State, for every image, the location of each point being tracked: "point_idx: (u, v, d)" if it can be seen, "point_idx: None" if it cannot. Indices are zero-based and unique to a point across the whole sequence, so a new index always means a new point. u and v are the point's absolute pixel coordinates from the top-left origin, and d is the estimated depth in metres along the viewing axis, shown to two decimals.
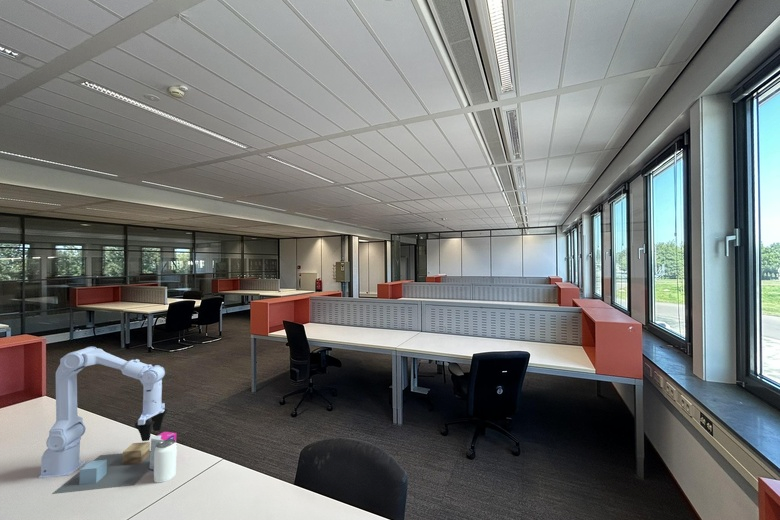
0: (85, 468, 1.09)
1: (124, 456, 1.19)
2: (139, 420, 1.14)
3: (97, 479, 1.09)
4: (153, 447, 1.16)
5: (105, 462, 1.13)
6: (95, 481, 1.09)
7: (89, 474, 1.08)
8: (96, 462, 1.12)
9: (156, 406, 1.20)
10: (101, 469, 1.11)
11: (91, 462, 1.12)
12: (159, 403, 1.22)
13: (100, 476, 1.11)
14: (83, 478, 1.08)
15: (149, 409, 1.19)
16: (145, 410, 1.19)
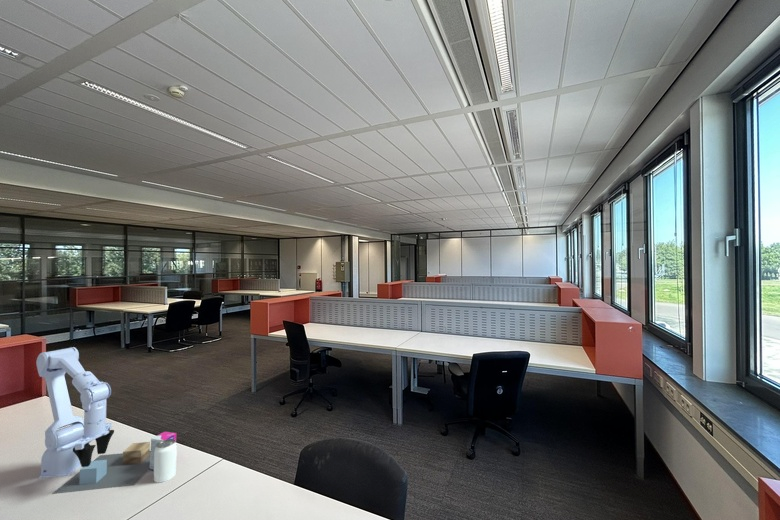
0: (85, 468, 1.09)
1: (124, 456, 1.19)
2: (76, 444, 1.04)
3: (97, 479, 1.09)
4: (153, 447, 1.16)
5: (105, 462, 1.13)
6: (95, 481, 1.09)
7: (89, 474, 1.08)
8: (96, 462, 1.12)
9: (98, 427, 1.10)
10: (101, 469, 1.11)
11: (91, 462, 1.12)
12: (102, 424, 1.11)
13: (100, 476, 1.11)
14: (83, 478, 1.08)
15: (90, 431, 1.09)
16: (86, 433, 1.08)
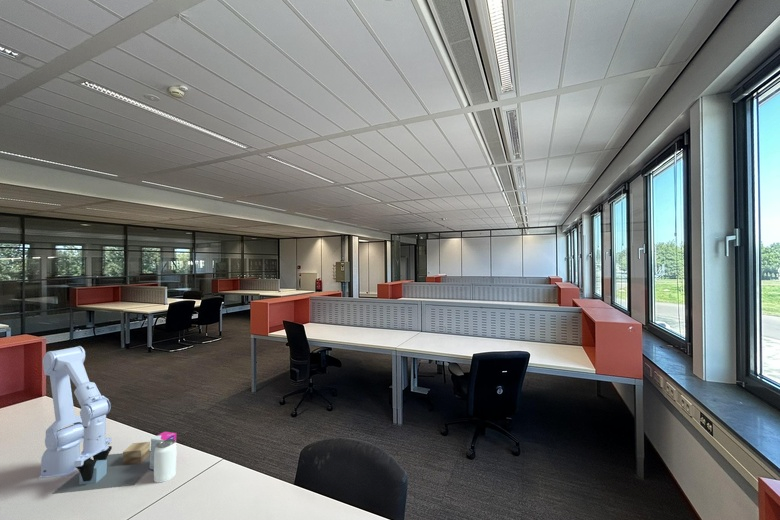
0: None
1: (124, 456, 1.19)
2: (76, 461, 1.04)
3: (97, 479, 1.09)
4: (153, 447, 1.16)
5: (105, 462, 1.13)
6: (95, 481, 1.09)
7: None
8: (96, 462, 1.12)
9: (98, 443, 1.10)
10: (101, 469, 1.11)
11: None
12: (102, 440, 1.11)
13: (100, 476, 1.11)
14: None
15: (90, 447, 1.08)
16: (85, 449, 1.08)
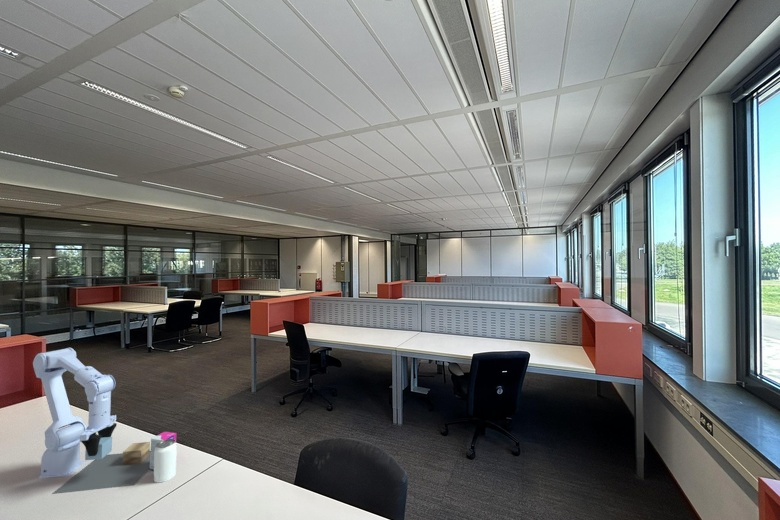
0: None
1: (124, 456, 1.19)
2: (81, 435, 1.05)
3: (102, 455, 1.10)
4: (153, 447, 1.16)
5: (110, 439, 1.14)
6: (100, 457, 1.10)
7: None
8: (101, 439, 1.13)
9: (103, 419, 1.11)
10: (107, 446, 1.12)
11: None
12: (107, 416, 1.12)
13: (105, 452, 1.12)
14: None
15: (95, 423, 1.10)
16: (90, 424, 1.09)
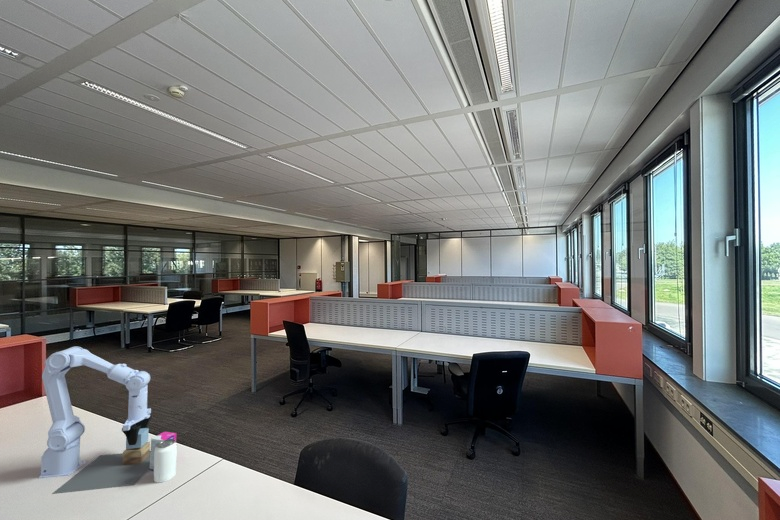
0: None
1: (124, 456, 1.19)
2: (124, 426, 1.15)
3: (141, 444, 1.21)
4: (153, 447, 1.16)
5: (147, 430, 1.25)
6: (140, 446, 1.20)
7: None
8: (139, 430, 1.24)
9: (141, 411, 1.21)
10: (144, 436, 1.23)
11: None
12: (144, 409, 1.22)
13: (143, 442, 1.22)
14: None
15: (135, 415, 1.20)
16: (130, 416, 1.20)
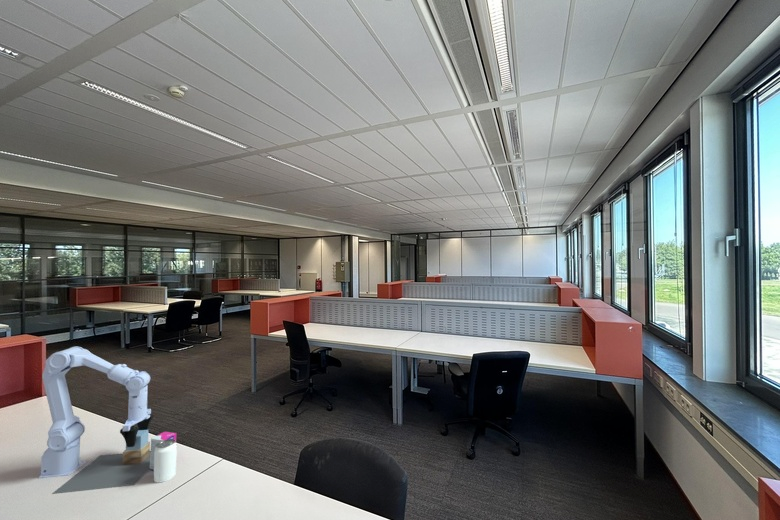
0: None
1: (124, 456, 1.19)
2: (124, 426, 1.15)
3: (141, 446, 1.21)
4: (153, 447, 1.16)
5: (147, 432, 1.24)
6: (139, 448, 1.20)
7: None
8: (139, 431, 1.23)
9: (141, 412, 1.21)
10: (144, 438, 1.23)
11: None
12: (144, 409, 1.22)
13: (143, 444, 1.22)
14: None
15: (135, 415, 1.20)
16: (130, 416, 1.20)
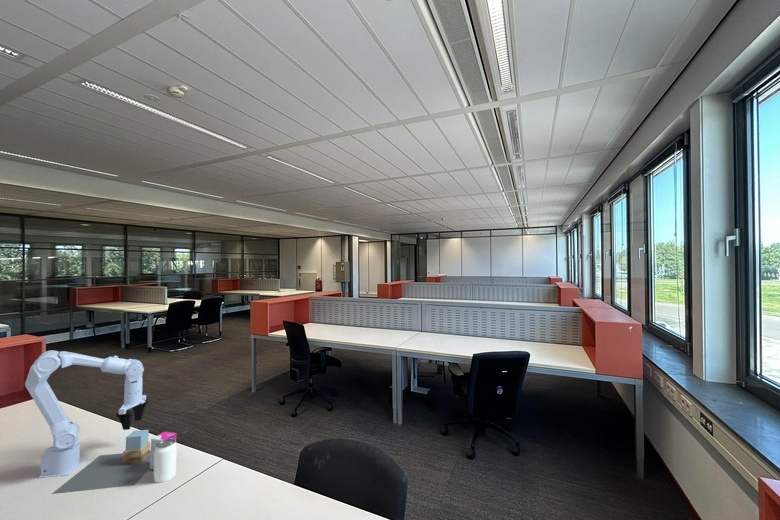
0: (130, 436, 1.20)
1: (124, 456, 1.19)
2: (120, 410, 1.22)
3: (141, 446, 1.21)
4: (153, 447, 1.16)
5: (147, 432, 1.24)
6: (139, 448, 1.20)
7: (134, 441, 1.20)
8: (139, 431, 1.23)
9: (137, 397, 1.28)
10: (144, 438, 1.23)
11: (135, 431, 1.23)
12: (140, 394, 1.29)
13: (143, 444, 1.22)
14: (129, 445, 1.19)
15: (130, 400, 1.27)
16: (126, 401, 1.27)
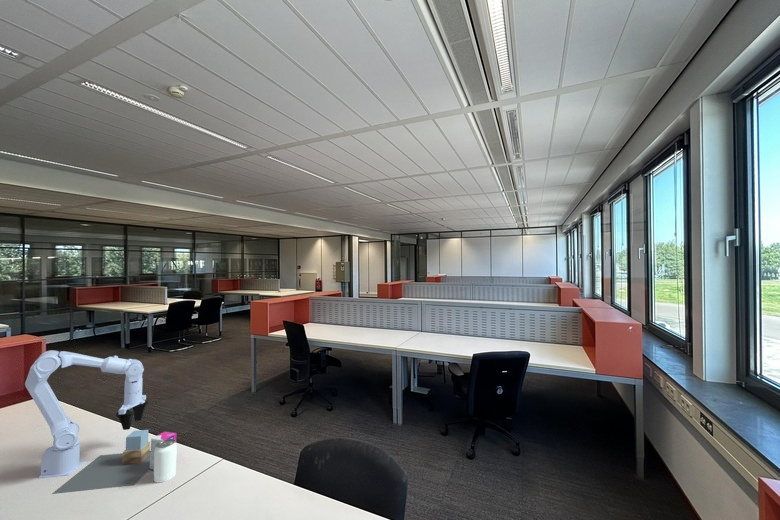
0: (130, 436, 1.20)
1: (124, 456, 1.19)
2: (120, 410, 1.22)
3: (141, 446, 1.21)
4: (153, 447, 1.16)
5: (147, 432, 1.24)
6: (139, 448, 1.20)
7: (134, 441, 1.20)
8: (139, 431, 1.23)
9: (137, 397, 1.28)
10: (144, 438, 1.23)
11: (135, 431, 1.23)
12: (140, 394, 1.29)
13: (143, 444, 1.22)
14: (129, 445, 1.19)
15: (130, 400, 1.27)
16: (126, 401, 1.27)
